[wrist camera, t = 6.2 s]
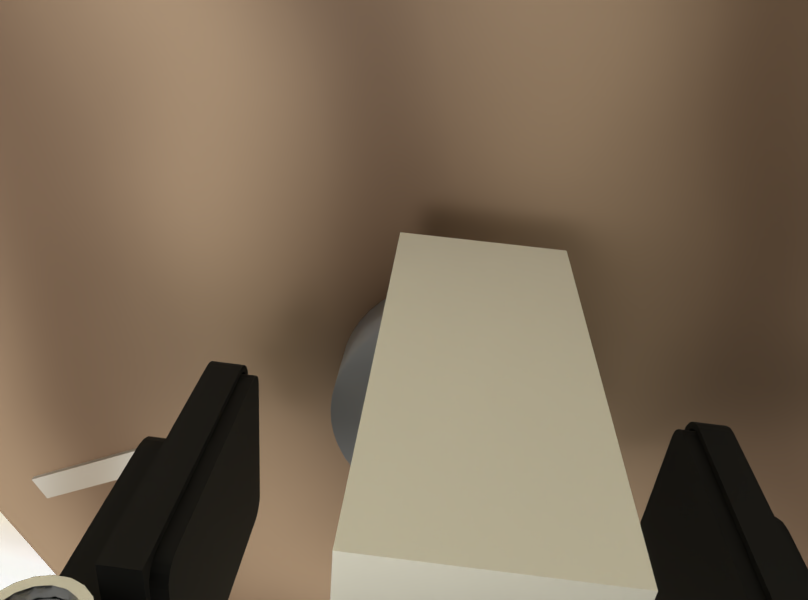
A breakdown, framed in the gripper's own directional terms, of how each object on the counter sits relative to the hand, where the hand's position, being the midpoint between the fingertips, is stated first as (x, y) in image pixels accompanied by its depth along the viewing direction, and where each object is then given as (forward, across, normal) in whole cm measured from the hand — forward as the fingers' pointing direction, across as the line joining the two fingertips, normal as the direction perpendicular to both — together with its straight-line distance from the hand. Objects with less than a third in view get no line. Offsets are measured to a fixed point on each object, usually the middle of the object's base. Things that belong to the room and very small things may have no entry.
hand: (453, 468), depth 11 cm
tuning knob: (+2, 0, +3) cm, 4 cm away
